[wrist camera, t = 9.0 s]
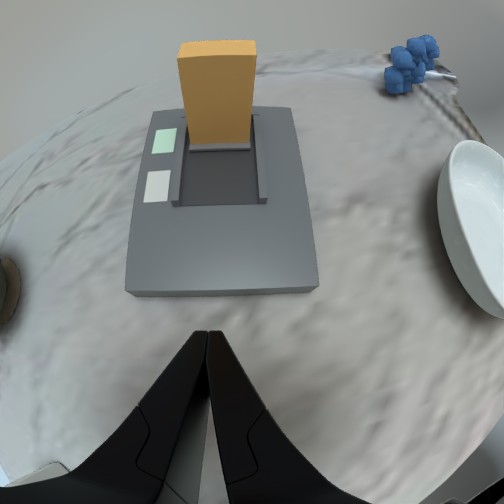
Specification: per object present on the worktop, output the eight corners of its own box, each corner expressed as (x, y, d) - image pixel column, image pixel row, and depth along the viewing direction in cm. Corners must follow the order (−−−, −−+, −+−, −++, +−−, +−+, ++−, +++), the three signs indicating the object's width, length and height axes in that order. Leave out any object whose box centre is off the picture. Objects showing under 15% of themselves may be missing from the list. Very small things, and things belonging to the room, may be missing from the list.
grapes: (397, 72, 35) (421, 23, 23) (425, 97, 33) (455, 48, 22) (357, 78, 32) (382, 15, 21) (390, 107, 30) (424, 43, 19)
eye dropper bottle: (32, 460, 14) (-41, 486, 2) (66, 461, 15) (-12, 501, 3) (51, 494, 12) (-13, 531, 1) (87, 497, 13) (23, 550, 2)
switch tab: (250, 150, 22) (258, 59, 14) (189, 151, 22) (174, 62, 13) (248, 121, 24) (255, 37, 15) (192, 123, 23) (182, 39, 14)
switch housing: (310, 292, 22) (323, 282, 18) (136, 296, 21) (119, 287, 17) (286, 124, 27) (292, 100, 24) (157, 127, 26) (151, 104, 23)
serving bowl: (425, 142, 29) (450, 110, 22) (516, 223, 27) (543, 205, 20) (393, 277, 22) (440, 253, 16) (504, 353, 20) (544, 347, 14)
